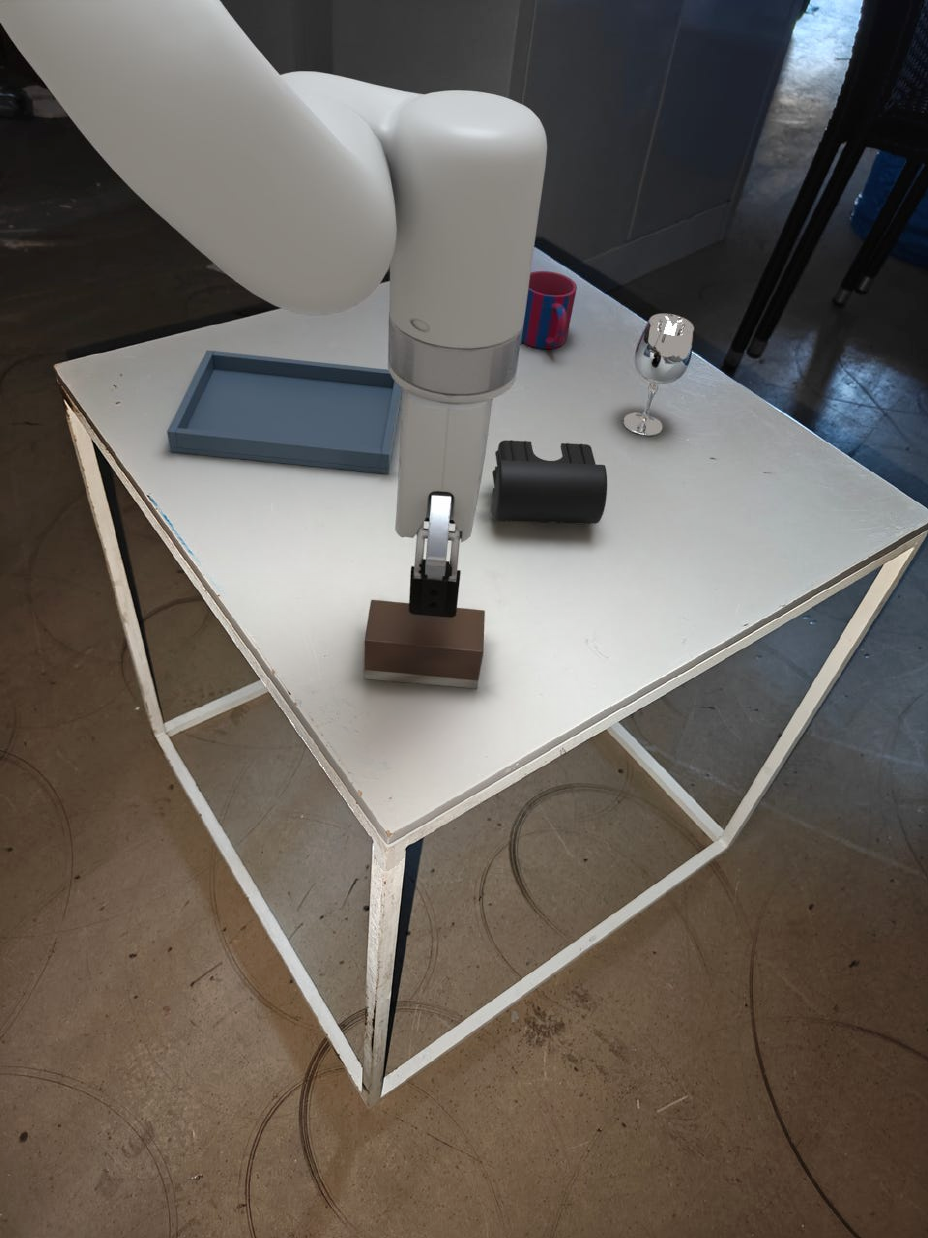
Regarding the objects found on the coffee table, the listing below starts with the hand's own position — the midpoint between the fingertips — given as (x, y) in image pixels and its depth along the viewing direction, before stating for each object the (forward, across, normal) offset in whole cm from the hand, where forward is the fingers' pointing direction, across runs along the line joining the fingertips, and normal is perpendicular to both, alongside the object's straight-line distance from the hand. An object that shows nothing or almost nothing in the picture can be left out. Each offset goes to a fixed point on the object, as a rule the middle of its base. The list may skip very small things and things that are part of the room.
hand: (436, 564), depth 61 cm
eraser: (+11, 0, 0) cm, 11 cm away
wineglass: (+12, -38, +22) cm, 45 cm away
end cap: (+11, -20, +10) cm, 25 cm away
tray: (+11, -32, -16) cm, 37 cm away
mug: (+11, -54, +10) cm, 56 cm away
